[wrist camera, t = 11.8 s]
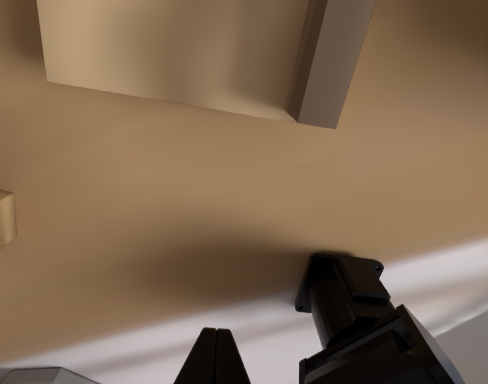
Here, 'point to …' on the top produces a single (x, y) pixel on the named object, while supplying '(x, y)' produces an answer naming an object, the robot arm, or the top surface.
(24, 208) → the top surface
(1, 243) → the wooden block
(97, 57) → the lid
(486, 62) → the top surface
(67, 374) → the tankard
